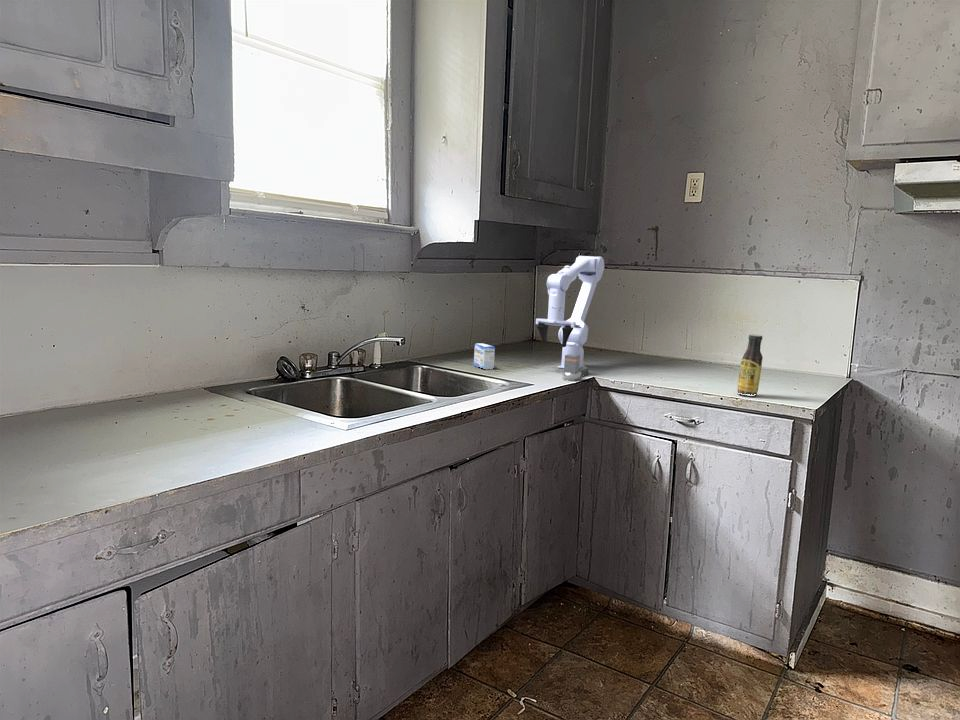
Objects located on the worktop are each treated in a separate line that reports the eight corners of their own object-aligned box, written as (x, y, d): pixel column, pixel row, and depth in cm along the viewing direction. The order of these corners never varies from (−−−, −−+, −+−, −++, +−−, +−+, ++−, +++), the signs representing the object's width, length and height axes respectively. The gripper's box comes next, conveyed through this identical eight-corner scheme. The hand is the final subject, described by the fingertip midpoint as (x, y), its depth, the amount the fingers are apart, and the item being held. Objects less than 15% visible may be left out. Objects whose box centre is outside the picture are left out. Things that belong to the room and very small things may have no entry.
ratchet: (576, 372, 244) (577, 358, 243) (592, 374, 241) (593, 360, 240) (559, 379, 228) (560, 365, 228) (576, 381, 226) (577, 367, 225)
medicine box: (473, 366, 247) (474, 343, 246) (483, 365, 249) (484, 343, 248) (483, 370, 240) (484, 346, 239) (494, 369, 242) (495, 346, 241)
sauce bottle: (732, 394, 216) (739, 333, 212) (743, 392, 220) (750, 333, 216) (751, 398, 211) (758, 336, 207) (762, 396, 214) (769, 335, 211)
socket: (567, 370, 232) (568, 353, 231) (578, 372, 230) (580, 355, 229) (563, 372, 228) (564, 355, 227) (575, 374, 226) (576, 356, 225)
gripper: (533, 307, 237) (531, 344, 239) (571, 310, 230) (569, 348, 233) (540, 306, 243) (538, 342, 245) (578, 309, 237) (576, 346, 239)
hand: (554, 345), depth 239 cm, fingers open, 7 cm apart
